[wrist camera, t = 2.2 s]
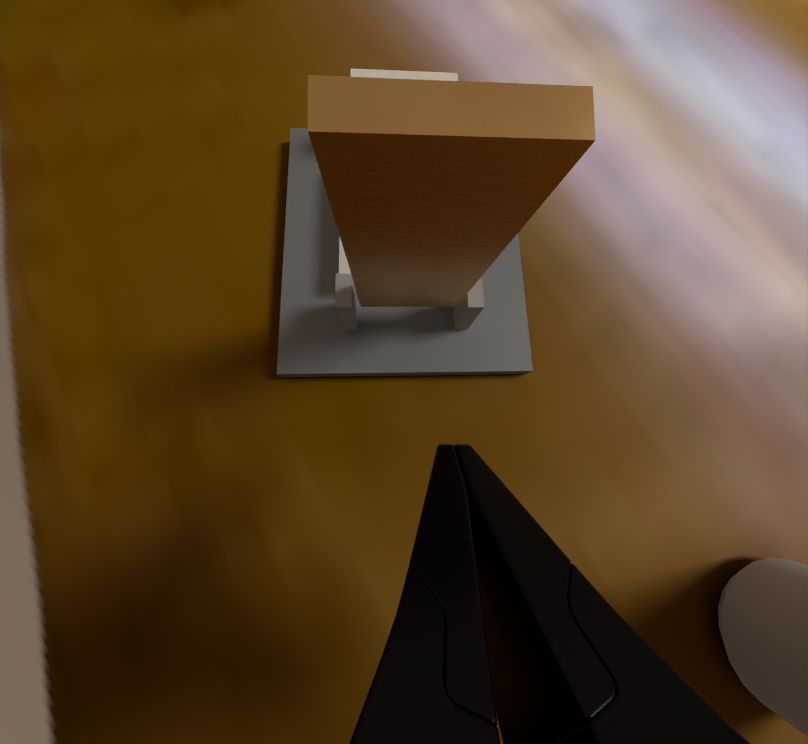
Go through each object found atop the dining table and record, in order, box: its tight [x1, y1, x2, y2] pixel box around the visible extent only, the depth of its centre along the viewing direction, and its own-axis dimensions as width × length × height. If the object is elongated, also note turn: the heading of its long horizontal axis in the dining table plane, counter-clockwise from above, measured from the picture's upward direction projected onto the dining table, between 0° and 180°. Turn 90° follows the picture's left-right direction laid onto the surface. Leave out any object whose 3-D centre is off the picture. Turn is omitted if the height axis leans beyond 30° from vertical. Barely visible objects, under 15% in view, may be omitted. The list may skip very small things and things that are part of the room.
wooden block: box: [308, 75, 595, 307], centre depth 11 cm, size 1×5×11 cm, turn 92°
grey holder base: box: [277, 69, 533, 377], centre depth 18 cm, size 17×15×5 cm
